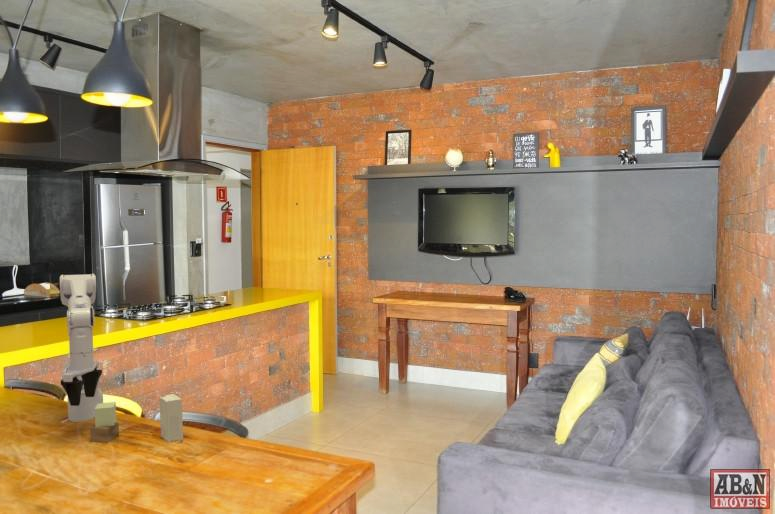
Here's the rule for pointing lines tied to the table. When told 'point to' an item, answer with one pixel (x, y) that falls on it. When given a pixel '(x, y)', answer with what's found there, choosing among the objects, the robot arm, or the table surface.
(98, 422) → the sage block
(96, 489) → the table surface
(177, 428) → the skincare box
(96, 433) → the walnut block
